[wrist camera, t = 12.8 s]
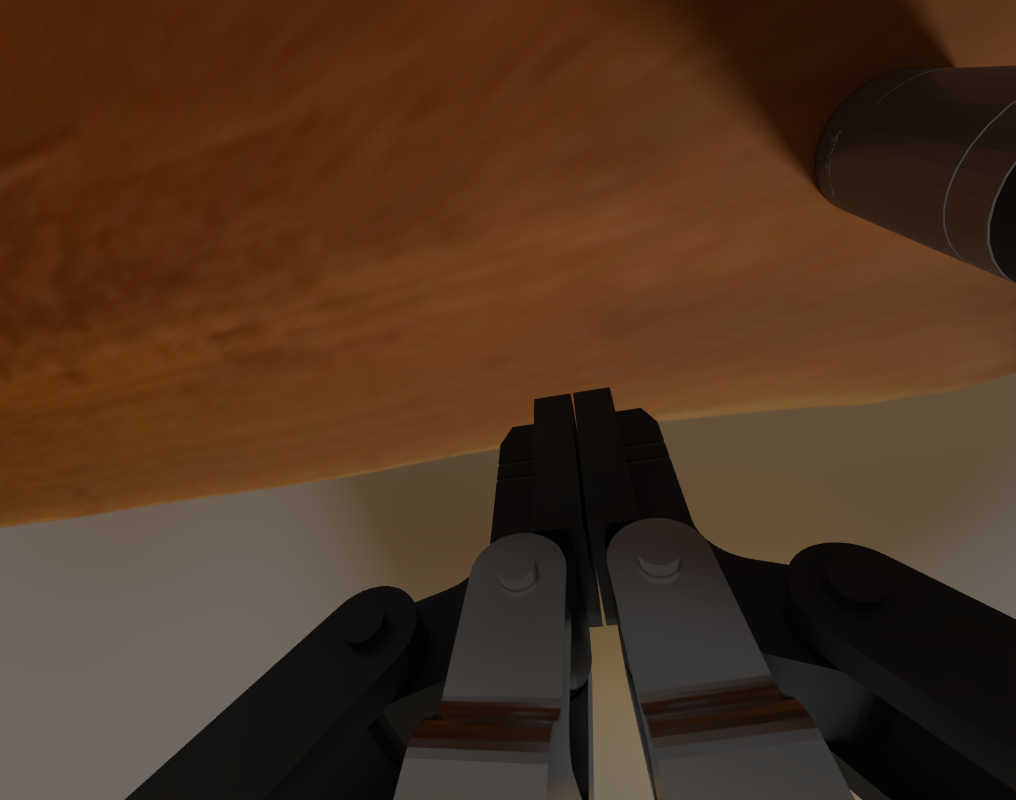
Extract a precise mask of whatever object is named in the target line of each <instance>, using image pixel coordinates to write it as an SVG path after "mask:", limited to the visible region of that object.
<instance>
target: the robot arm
mask: <svg viewBox="0 0 1016 800" xmlns="http://www.w3.org/2000/svg"><path fill="white" fill-rule="evenodd" d="M815 163H816V178H817V181H818V185H819V188H820V190H821V191H822V193H823V195H824V196H825V198H826V199H827V200H828V201H829V202H830V203H832V204H833V205H834V206H836V207H838V208H840V209H842V210H844V211H846V212H848V213H851V214H853V215H855V216H858V217H860V218H863V219H865V220H867V221H869V222H871V223H874V224H876V225H878V226H881V227H883V228H885V229H888V230H890V231H892V232H895V233H897V234H899V235H902V236H904V237H906V238H909V239H911V240H913V241H916V242H918V243H920V244H923V245H925V246H927V247H930V248H932V249H935V250H937V251H939V252H942V253H944V254H946V255H949V256H951V257H953V258H956V259H958V260H960V261H963V262H965V263H967V264H970V265H972V266H975V267H977V268H980V269H982V270H985V271H987V272H989V273H992V274H994V275H996V276H999V277H1001V278H1003V279H1006V280H1008V281H1010V282H1013V283H1015V284H1016V66H991V67H964V68H933V69H910V70H901V71H897V72H893V73H888V74H886V75H884V76H882V77H879V78H877V79H875V80H873V81H871V82H869V83H868V84H866V85H865V86H863V87H862V88H861V89H859V90H858V91H856V92H855V93H854V94H853V95H852V96H851V97H850V98H849V99H848V100H847V101H845V102H844V103H843V105H842V106H841V107H840V108H839V110H838V111H837V112H836V113H835V115H834V116H833V117H832V119H831V120H830V122H829V124H828V126H827V127H826V129H825V131H824V133H823V135H822V138H821V141H820V143H819V146H818V151H817V156H816V162H815ZM573 395H574V405H575V414H576V421H575V415H574V410H573V404H572V399H571V394H564V395H558V396H551V397H545V398H539V399H535V400H534V424H531V425H524V426H518V427H512V429H511V430H510V432H509V433H508V435H507V436H506V438H505V439H504V440H503V442H502V443H501V446H500V456H499V467H498V475H497V481H498V482H497V484H496V495H495V503H494V513H493V522H492V533H491V541H490V545H489V546H488V547H486V549H484V550H483V551H482V552H481V553H480V555H479V556H478V557H477V559H476V560H475V562H474V564H473V566H472V569H471V573H470V577H468V578H467V579H466V580H465V581H463V582H461V583H460V584H458V585H456V586H454V587H452V588H450V589H448V590H445V591H443V592H440V593H438V594H436V595H433V596H430V597H428V598H426V599H423V600H420V601H418V602H415V603H414V601H413V600H412V598H411V597H410V596H409V595H408V594H407V593H406V592H405V591H403V590H401V589H399V588H395V587H390V586H381V587H375V588H371V589H368V590H365V591H362V592H361V593H358V594H356V595H355V596H353V597H351V598H350V599H348V600H347V601H346V602H344V603H343V604H342V605H341V606H340V607H339V608H337V609H336V610H335V611H334V612H333V613H332V614H331V615H330V616H328V617H327V618H326V619H325V620H324V621H323V622H322V623H321V624H320V625H318V626H317V627H316V628H315V629H314V630H313V631H312V632H311V633H310V634H309V635H307V636H306V637H305V638H304V639H303V640H302V641H301V642H300V643H298V644H297V645H296V646H295V647H294V648H293V649H292V650H291V651H290V652H288V653H287V654H286V655H285V656H284V657H283V658H282V659H281V660H280V661H278V662H277V663H276V664H275V665H274V666H273V667H272V668H271V669H270V670H268V671H267V672H266V673H265V674H264V675H263V676H262V677H261V678H260V679H258V680H257V681H256V682H255V683H254V684H253V685H252V686H251V687H249V689H247V690H246V691H245V692H244V693H243V694H242V695H241V696H239V697H238V698H237V699H236V700H235V701H234V702H233V703H232V704H231V705H230V706H229V707H227V708H226V709H225V710H224V711H223V712H222V713H221V714H219V715H218V716H217V717H216V718H215V719H214V720H213V721H212V722H211V723H209V724H208V725H207V726H206V727H205V728H204V729H203V730H202V731H201V732H199V733H198V734H197V735H196V736H195V737H194V738H193V739H192V740H191V741H189V743H187V744H186V745H185V746H184V747H183V748H182V749H181V750H180V751H178V752H177V753H176V754H175V755H174V756H173V757H172V758H171V759H169V760H168V761H167V762H166V763H165V764H164V765H163V766H162V767H161V768H159V769H158V770H157V771H156V772H155V773H154V774H153V775H152V776H151V777H150V778H148V779H147V780H146V781H145V782H144V783H143V784H142V785H141V786H140V787H138V788H137V789H136V790H135V791H134V792H133V793H132V794H131V795H130V796H128V797H127V798H126V799H125V800H594V778H593V777H594V774H593V773H594V772H593V710H592V709H593V708H592V707H593V704H592V673H591V664H592V654H591V643H590V633H589V627H599V626H603V625H602V616H601V608H600V599H599V590H598V582H599V587H600V592H601V597H602V603H603V608H604V613H605V619H606V624H607V626H608V625H618V630H619V636H620V641H621V647H622V654H623V659H624V664H625V670H626V676H627V681H628V685H629V690H630V695H631V699H632V703H633V707H634V712H635V717H636V721H637V726H638V730H639V735H640V739H641V743H642V748H643V752H644V757H645V761H646V766H647V770H648V774H649V779H650V783H651V788H652V792H653V796H654V800H855V799H854V797H853V795H852V793H851V791H850V790H852V791H853V792H854V793H855V794H856V795H857V796H859V797H860V798H861V799H862V800H1016V619H1014V618H1012V617H1010V616H1008V615H1006V614H1004V613H1002V612H1000V611H998V610H996V609H994V608H991V607H990V606H988V605H986V604H984V603H982V602H980V601H978V600H976V599H973V598H972V597H969V596H967V595H965V594H963V593H961V592H959V591H957V590H955V589H953V588H951V587H949V586H947V585H945V584H943V583H941V582H939V581H937V580H935V579H933V578H931V577H929V576H927V575H925V574H923V573H921V572H919V571H917V570H915V569H913V568H911V567H909V566H907V565H905V564H903V563H901V562H899V561H897V560H895V559H893V558H890V557H888V556H887V555H884V554H882V553H880V552H877V551H875V550H873V549H869V548H866V547H863V546H859V545H854V544H849V543H838V542H837V543H822V544H817V545H813V546H810V547H808V548H806V549H804V550H802V551H800V552H799V553H798V554H797V555H796V556H795V557H794V558H793V559H792V561H791V562H790V564H789V565H786V564H780V563H773V562H767V561H760V560H754V559H749V558H744V557H740V556H737V555H734V554H731V553H728V552H726V551H724V550H722V549H720V548H718V547H717V546H715V545H713V544H712V543H711V542H709V541H708V540H707V539H705V538H704V537H703V536H702V535H701V534H700V532H699V531H698V530H697V528H696V527H695V525H694V523H693V521H692V519H691V516H690V513H689V511H688V508H687V505H686V502H685V499H684V496H683V493H682V491H681V488H680V485H679V482H678V479H677V476H676V473H675V471H674V468H673V465H672V462H671V459H670V458H669V454H668V451H667V448H666V445H665V444H664V439H663V436H662V434H661V431H660V428H659V425H658V422H657V421H656V420H655V419H653V418H652V417H651V416H650V415H649V414H648V413H646V412H645V411H644V410H643V409H642V408H637V409H630V410H624V411H617V412H615V408H614V404H613V400H612V395H611V391H610V388H609V387H608V388H601V389H595V390H589V391H582V392H576V393H573ZM576 423H577V426H576ZM596 571H597V573H596ZM597 576H598V582H597Z"/></svg>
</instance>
